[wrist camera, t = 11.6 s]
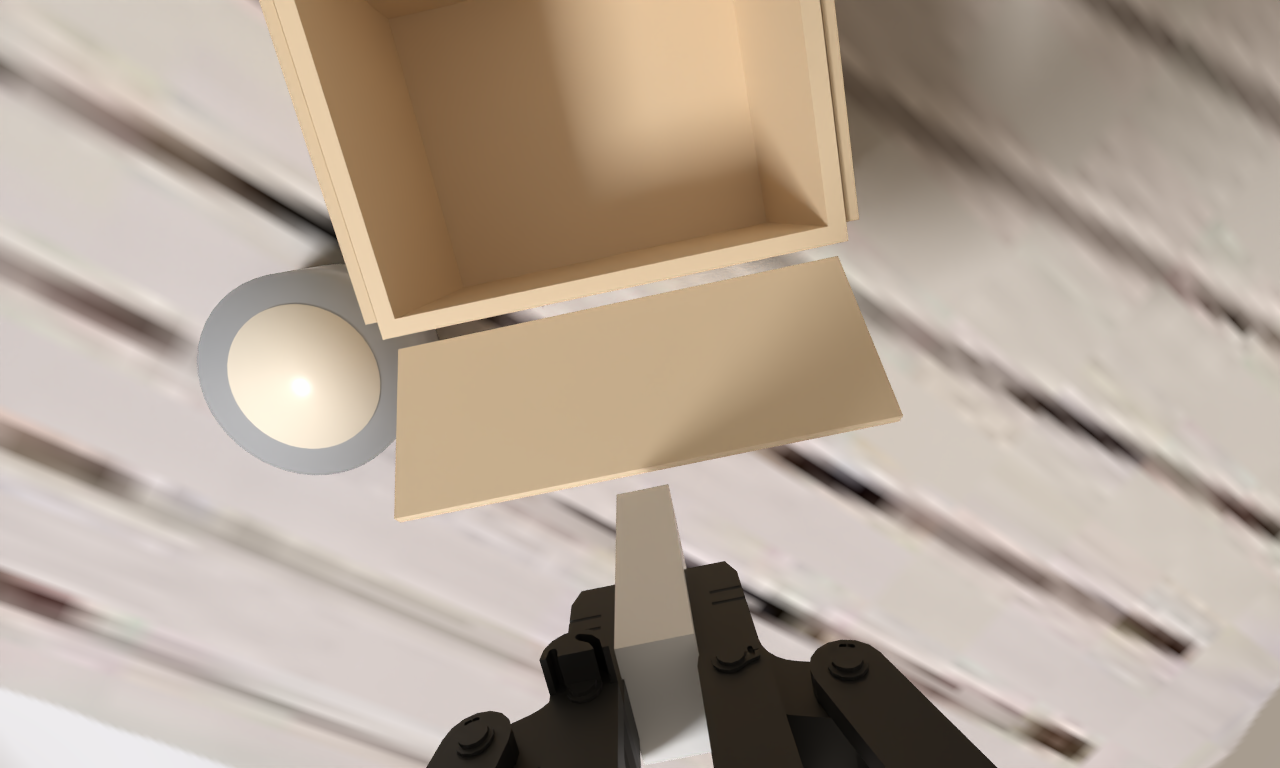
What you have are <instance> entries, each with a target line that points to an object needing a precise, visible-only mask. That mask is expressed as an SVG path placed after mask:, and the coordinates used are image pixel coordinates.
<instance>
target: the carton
mask: <svg viewBox="0 0 1280 768" xmlns="http://www.w3.org/2000/svg"><path fill="white" fill-rule="evenodd" d="M259 2H260V5H261V8H262V11H263V14H264V17H265V20H266V23H267V26H268V29H269V32H270V35H271V38H272V41H273V44H274V47H275V50H276V53H277V57H278V60H279V63H280V66H281V69H282V72H283V75H284V78H285V81H286V84H287V87H288V90H289V93H290V96H291V99H292V102H293V105H294V108H295V111H296V114H297V117H298V121H299V124H300V127H301V130H302V133H303V136H304V139H305V142H306V145H307V148H308V151H309V154H310V157H311V160H312V163H313V166H314V169H315V172H316V175H317V178H318V181H319V185H320V188H321V191H322V194H323V197H324V200H325V203H326V206H327V209H328V212H329V215H330V218H331V221H332V224H333V227H334V230H335V233H336V236H337V239H338V242H339V245H340V249H341V252H342V255H343V258H344V261H345V264H346V267H347V270H348V273H349V276H350V279H351V282H352V285H353V288H354V291H355V294H356V297H357V300H358V303H359V306H360V309H361V313H362V316H363V319H364V322H365V325H367V324H372V323H376V322H377V323H378V326H379V329H380V332H381V335H382V338H383V340H385V339H389V338H394V337H399V336H403V335H408V334H413V333H417V332H422V331H427V330H432V329H436V328H441V327H446V326H450V325H455V324H460V323H464V322H469V321H474V320H479V319H483V318H488V317H493V316H497V315H502V314H507V313H511V312H516V311H521V310H526V309H530V308H535V307H540V306H544V305H549V304H554V303H558V302H563V301H568V300H572V299H577V298H582V297H587V296H591V295H596V294H601V293H605V292H610V291H615V290H619V289H624V288H629V287H634V286H638V285H643V284H648V283H652V282H657V281H662V280H666V279H671V278H676V277H681V276H685V275H690V274H695V273H699V272H704V271H709V270H713V269H718V268H723V267H728V266H732V265H737V264H742V263H746V262H751V261H756V260H760V259H765V258H770V257H775V256H779V255H784V254H789V253H793V252H798V251H803V250H807V249H812V248H817V247H822V246H826V245H831V244H836V243H840V242H845V241H848V234H847V225H846V222H849V221H853V220H858V219H859V215H858V206H857V197H856V188H855V179H854V170H853V161H852V153H851V144H850V135H849V126H848V117H847V108H846V100H845V91H844V82H843V73H842V64H841V55H840V47H839V38H838V29H837V20H836V11H835V2H834V0H259Z"/></svg>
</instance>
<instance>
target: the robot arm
mask: <svg viewBox="0 0 1280 768" xmlns="http://www.w3.org/2000/svg"><path fill="white" fill-rule="evenodd" d="M540 663H541V666H542V670H543V673H544V677H545V680H546V683H547V687H548V690H549V693H550V701H549V703H548V704H547V705H545V706H544V707H543V708H541V709H540V710H538V711H537V712H535V713H533V714H531V715H529V716H527V717H525V718H523V719H521V720H519V721H516V722H514V723H512V724H510V721H509V719H508V718H507V717H506V716H505V715H503V714H502V713H499V712H494V711H488V712H481V713H477V714H475V715H472V716H470V717H468V718H466V719H464V720H462V721H461V722H460V723H458V724H457V725H456V726H455V727H453V728H452V729H451V730H450V732H449V733H448V734H447V735H446V736H445V738H444V739H443V740H442V742H441V744H440V745H439V747H438V749H437V750H436V752H435V754H434V756H433V757H432V759H431V761H430V762H429V764H428V766H427V767H426V768H641V762H640V751H641V755H642V759H643V763H644V765H649V764H654V763H659V762H665V761H670V760H675V759H680V758H685V757H691V756H696V755H701V754H706V753H712V759H713V765H714V768H997V767H996V766H995V765H994V764H993V763H992V762H991V761H990V760H989V759H988V758H987V757H986V756H985V755H984V754H983V753H982V752H981V751H980V750H979V749H978V748H977V747H976V746H975V745H974V744H973V743H972V742H971V741H970V740H969V739H968V738H967V737H966V736H965V735H964V734H963V733H962V732H961V731H960V730H959V729H958V728H957V727H956V726H954V725H953V724H952V723H951V722H950V721H949V720H948V719H947V718H946V717H945V716H944V715H943V714H942V713H941V712H940V711H939V710H938V709H937V708H936V707H935V706H934V705H933V704H932V703H931V702H930V701H929V700H928V699H927V698H926V697H925V696H924V695H923V694H922V693H921V692H920V691H919V690H918V689H917V688H916V687H915V686H914V685H913V684H912V683H911V682H910V681H909V680H908V679H907V678H906V677H905V676H904V675H903V674H902V673H901V672H900V671H899V670H898V669H897V668H896V667H895V666H894V665H893V664H892V663H891V662H890V661H889V660H888V659H887V658H886V657H885V656H884V655H883V654H882V653H881V652H879V651H878V650H876V649H875V648H873V647H872V646H870V645H869V644H865V643H862V642H859V641H856V640H838V641H834V642H829V643H827V644H825V645H823V646H822V647H820V648H818V649H817V650H816V651H815V653H814V654H813V656H812V657H811V661H810V662H803V661H792V660H785V659H782V658H779V657H776V656H775V655H773V654H771V653H769V652H768V651H767V650H766V649H765V648H764V647H763V646H762V645H761V643H760V641H759V639H758V636H757V633H756V630H755V627H754V623H753V620H752V617H751V614H750V611H749V608H748V605H747V602H746V599H745V595H744V592H743V589H742V587H741V583H740V580H739V577H738V574H737V571H736V570H735V569H733V568H732V567H731V566H730V565H728V564H727V563H726V562H725V561H723V562H718V563H713V564H708V565H703V566H698V567H693V568H688V569H686V565H685V560H684V555H683V551H682V546H681V541H680V537H679V532H678V527H677V523H676V518H675V513H674V509H673V504H672V499H671V495H670V490H669V485H668V484H667V485H662V486H657V487H653V488H648V489H643V490H638V491H633V492H628V493H623V494H618V495H617V508H616V568H615V585H611V586H606V587H601V588H596V589H591V590H586V591H582V592H581V593H580V595H579V596H578V598H577V599H576V600H575V602H574V603H573V605H572V608H571V616H570V624H569V631H568V633H567V634H564V635H562V636H560V637H559V638H557V639H555V640H554V641H552V642H551V643H550V644H549V645H548V646H547V647H546V648H545V649H544V651H543V653H542V655H541V658H540Z"/></svg>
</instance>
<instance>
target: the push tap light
mask: <svg viewBox="0 0 1280 768" xmlns="http://www.w3.org/2000/svg"><path fill="white" fill-rule="evenodd" d="M435 341H439V339H438V335H437V332H436V329H432V330H427V331H422V332H417V333H413V334H408V335H403V336H399V337H394V338H389V339H385V340H383V338H382V335H381V332H380V329H379V326H378V323H377V322H376V323H372V324H367V325H365V322H364V319H363V316H362V313H361V309H360V306H359V303H358V300H357V297H356V294H355V291H354V288H353V285H352V282H351V279H350V276H349V273H348V270H347V267H346V264H329V265H322V266H316V267H311V268H305V269H299V270H293V271H287V272H282V273H276V274H270V275H266V276H262V277H259V278H255V279H253V280H251V281H248V282H246V283H244V284H242V285H240V286H239V287H237V288H236V289H234V290H233V291H231V292H230V293H229V294H228V295H226V296H225V297H224V298H223V299H222V300H221V301H220V302H219V303H218V305H217V306H216V307H215V308H214V309H213V311H212V312H211V314H210V316H209V318H208V319H207V321H206V323H205V326H204V328H203V331H202V333H201V337H200V341H199V346H198V356H197V365H198V376H199V381H200V386H201V389H202V392H203V395H204V398H205V400H206V402H207V404H208V407H209V409H210V411H211V413H212V414H213V416H214V417H215V419H216V420H217V422H218V423H219V425H220V426H221V427H222V428H223V430H224V431H225V432H226V433H227V434H228V435H229V436H230V437H231V438H232V439H233V440H234V441H235V442H236V443H237V444H238V445H239V446H240V447H242V448H243V449H244V450H246V451H247V452H248V453H250V454H251V455H253V456H254V457H256V458H258V459H259V460H261V461H263V462H265V463H267V464H269V465H272V466H274V467H277V468H280V469H283V470H286V471H290V472H294V473H299V474H307V475H329V474H336V473H341V472H345V471H349V470H352V469H354V468H357V467H359V466H362V465H364V464H365V463H367V462H369V461H371V460H372V459H374V458H375V457H376V456H378V455H379V454H380V453H381V452H383V451H384V450H385V449H386V448H387V447H388V446H389V445H390V444H391V443H392V442H393V441H394V440H395V439H396V425H397V381H398V349H402V348H407V347H411V346H416V345H421V344H426V343H430V342H435Z"/></svg>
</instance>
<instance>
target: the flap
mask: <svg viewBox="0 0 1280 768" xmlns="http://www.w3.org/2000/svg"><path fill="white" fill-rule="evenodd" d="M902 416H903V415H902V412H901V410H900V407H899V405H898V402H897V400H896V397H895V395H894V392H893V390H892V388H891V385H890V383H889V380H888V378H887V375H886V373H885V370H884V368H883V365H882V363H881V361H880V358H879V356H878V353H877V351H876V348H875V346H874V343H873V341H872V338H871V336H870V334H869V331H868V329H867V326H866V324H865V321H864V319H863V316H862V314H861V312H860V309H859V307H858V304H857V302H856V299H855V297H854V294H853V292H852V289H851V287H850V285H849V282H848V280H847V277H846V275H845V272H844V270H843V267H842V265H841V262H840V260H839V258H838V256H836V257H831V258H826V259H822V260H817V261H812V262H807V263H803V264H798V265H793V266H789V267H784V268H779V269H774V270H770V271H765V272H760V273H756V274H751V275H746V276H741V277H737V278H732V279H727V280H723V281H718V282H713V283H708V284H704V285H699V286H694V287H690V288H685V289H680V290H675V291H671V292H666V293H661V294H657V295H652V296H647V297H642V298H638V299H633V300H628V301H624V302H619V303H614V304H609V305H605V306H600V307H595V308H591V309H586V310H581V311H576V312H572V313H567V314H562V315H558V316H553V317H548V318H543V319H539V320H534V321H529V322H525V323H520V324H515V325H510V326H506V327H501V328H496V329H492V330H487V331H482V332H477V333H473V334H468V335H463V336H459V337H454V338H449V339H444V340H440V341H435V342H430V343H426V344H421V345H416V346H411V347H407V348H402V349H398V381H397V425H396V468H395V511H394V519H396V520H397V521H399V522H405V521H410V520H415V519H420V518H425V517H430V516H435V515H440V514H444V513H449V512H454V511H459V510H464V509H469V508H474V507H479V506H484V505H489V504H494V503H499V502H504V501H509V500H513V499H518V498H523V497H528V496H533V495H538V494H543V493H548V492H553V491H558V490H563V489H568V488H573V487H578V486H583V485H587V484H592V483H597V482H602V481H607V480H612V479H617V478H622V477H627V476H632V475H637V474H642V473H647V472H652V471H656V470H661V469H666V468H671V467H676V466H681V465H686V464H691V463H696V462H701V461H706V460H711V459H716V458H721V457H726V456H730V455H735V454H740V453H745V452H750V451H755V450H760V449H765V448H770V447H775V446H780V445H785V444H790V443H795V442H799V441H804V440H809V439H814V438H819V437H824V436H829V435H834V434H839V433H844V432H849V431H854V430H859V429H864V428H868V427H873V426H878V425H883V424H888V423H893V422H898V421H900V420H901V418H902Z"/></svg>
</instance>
